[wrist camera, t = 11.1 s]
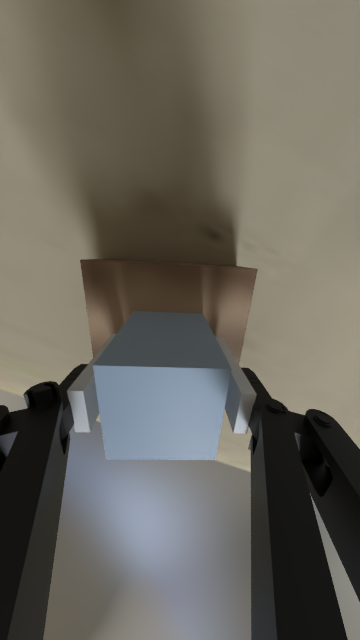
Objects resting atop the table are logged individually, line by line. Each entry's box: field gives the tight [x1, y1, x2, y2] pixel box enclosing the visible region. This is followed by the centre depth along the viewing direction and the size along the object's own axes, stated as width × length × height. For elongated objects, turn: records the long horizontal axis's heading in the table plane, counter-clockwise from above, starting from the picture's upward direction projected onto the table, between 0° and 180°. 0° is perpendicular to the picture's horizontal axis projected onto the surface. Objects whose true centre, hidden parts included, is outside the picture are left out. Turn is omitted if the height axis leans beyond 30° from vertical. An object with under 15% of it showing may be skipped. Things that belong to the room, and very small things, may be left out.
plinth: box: [80, 259, 257, 364], centre depth 18 cm, size 14×14×5 cm
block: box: [93, 311, 232, 460], centre depth 12 cm, size 6×6×8 cm
